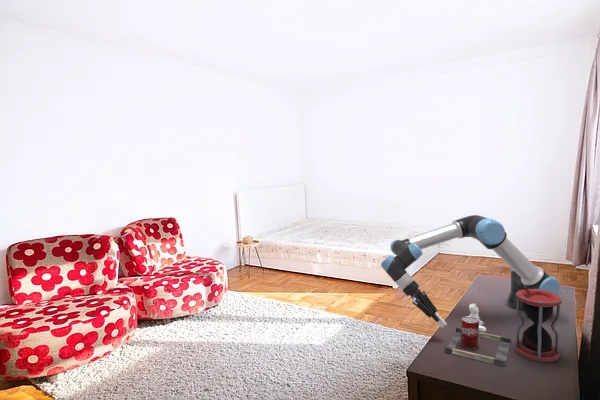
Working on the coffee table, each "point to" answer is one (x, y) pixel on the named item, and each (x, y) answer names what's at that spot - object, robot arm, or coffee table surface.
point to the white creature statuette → (476, 316)
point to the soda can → (469, 332)
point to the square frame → (499, 359)
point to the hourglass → (537, 325)
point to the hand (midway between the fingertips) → (444, 325)
